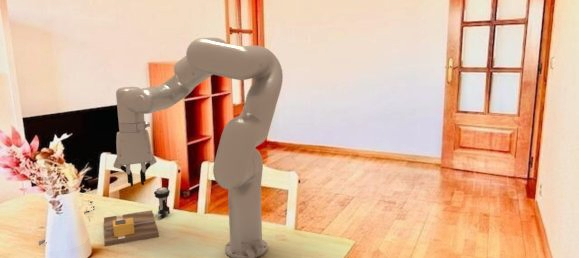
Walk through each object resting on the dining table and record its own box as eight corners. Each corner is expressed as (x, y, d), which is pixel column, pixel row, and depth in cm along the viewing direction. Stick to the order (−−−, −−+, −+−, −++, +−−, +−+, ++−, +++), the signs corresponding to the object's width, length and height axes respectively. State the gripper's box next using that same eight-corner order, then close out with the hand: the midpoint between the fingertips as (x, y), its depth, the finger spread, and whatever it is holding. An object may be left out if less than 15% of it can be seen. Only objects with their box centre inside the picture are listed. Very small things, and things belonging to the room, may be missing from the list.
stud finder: (134, 233, 138) (133, 222, 137) (114, 237, 135) (113, 226, 135) (133, 227, 142) (132, 217, 141) (113, 230, 140) (112, 220, 139)
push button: (165, 220, 152) (163, 193, 150) (151, 219, 153) (149, 192, 151) (173, 213, 158) (172, 187, 156) (160, 212, 159) (158, 186, 157)
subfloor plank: (158, 236, 139) (158, 229, 139) (104, 246, 133) (104, 238, 133) (152, 214, 157) (151, 207, 157) (104, 221, 151) (103, 214, 151)
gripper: (158, 123, 140) (162, 177, 144) (103, 127, 134) (109, 184, 138) (160, 127, 134) (165, 184, 137) (103, 132, 127) (109, 191, 131)
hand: (137, 183), depth 138 cm, fingers open, 2 cm apart
